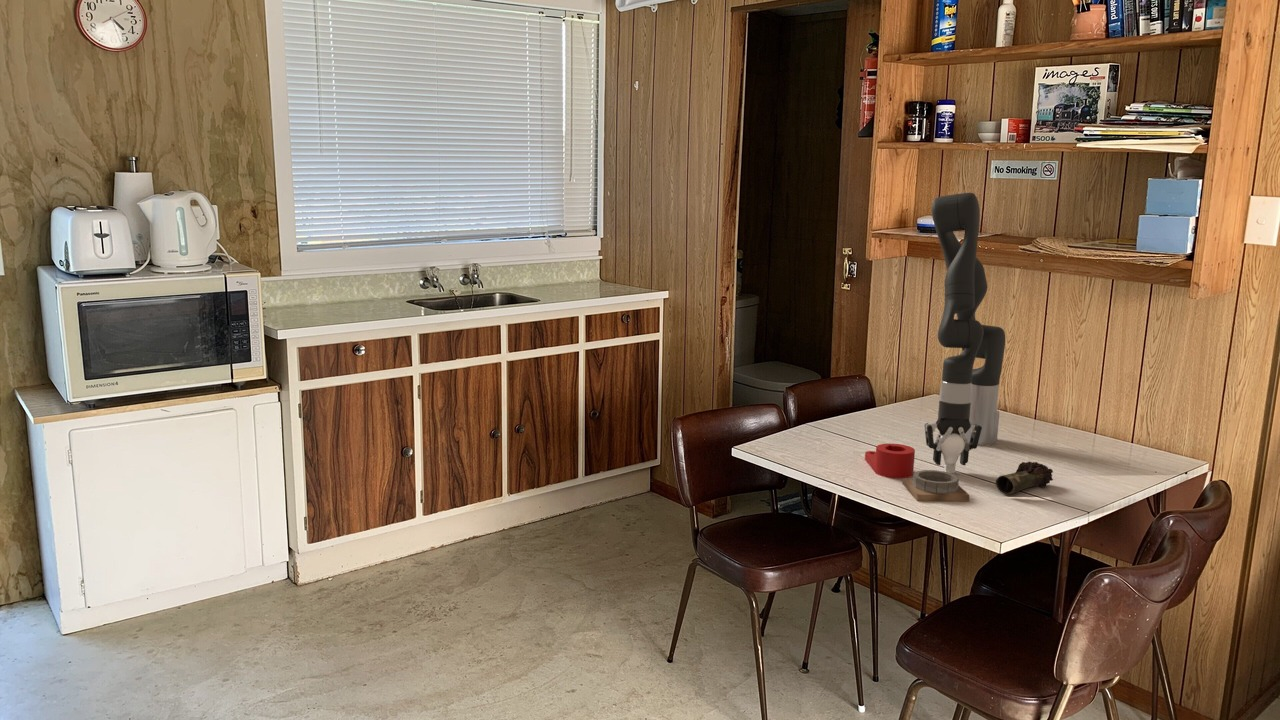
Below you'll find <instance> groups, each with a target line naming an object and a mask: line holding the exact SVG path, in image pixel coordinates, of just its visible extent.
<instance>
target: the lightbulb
mask: <svg viewBox="0 0 1280 720" xmlns="http://www.w3.org/2000/svg"><path fill="white" fill-rule="evenodd" d="M942 437H943V436H942V435H941V437H940V438H942ZM944 439H945V438H944ZM941 447H942V448H941V451H942V452H941V455H942V457H943V462H944V468H943V472H948V473H951V474H955V473H956V465H957V462H958V459H959V458H960V455H961V453H962V452H963V450H964V447H965V443H964V441H963V439H962V438H961V437H960V435H958V434H950V435H949V437H948V438H947V439H946V440H945V441H944V442H943V443H942V445H941Z"/></svg>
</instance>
